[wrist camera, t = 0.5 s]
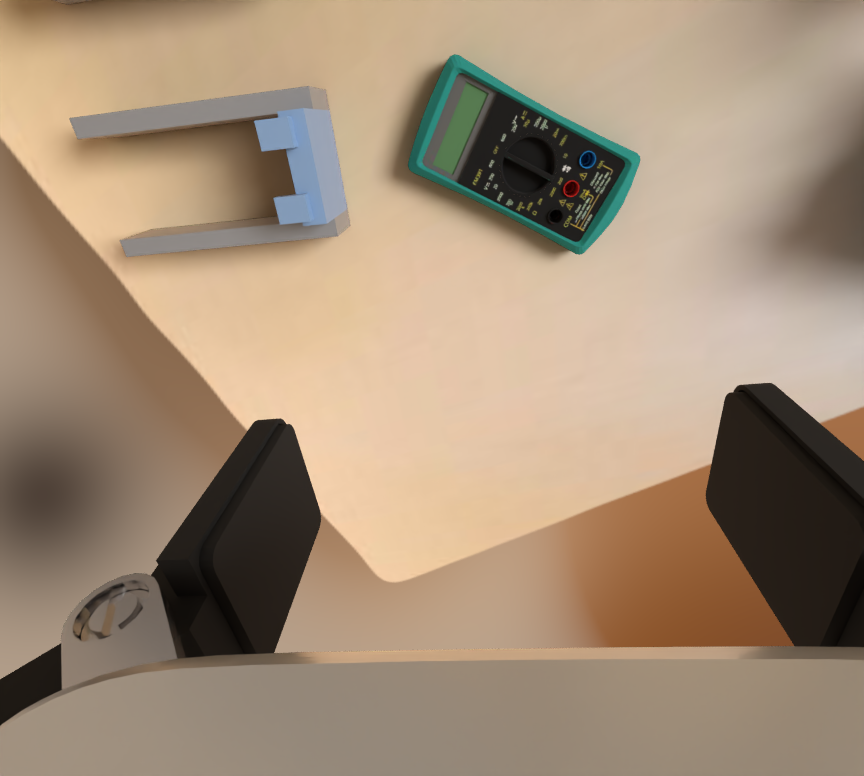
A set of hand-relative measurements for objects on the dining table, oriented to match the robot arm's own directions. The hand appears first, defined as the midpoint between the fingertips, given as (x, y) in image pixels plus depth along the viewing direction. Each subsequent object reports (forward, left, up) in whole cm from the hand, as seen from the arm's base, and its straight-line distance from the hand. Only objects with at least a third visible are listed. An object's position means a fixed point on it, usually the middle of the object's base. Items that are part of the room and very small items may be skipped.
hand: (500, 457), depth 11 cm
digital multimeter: (-4, +3, -30) cm, 30 cm away
